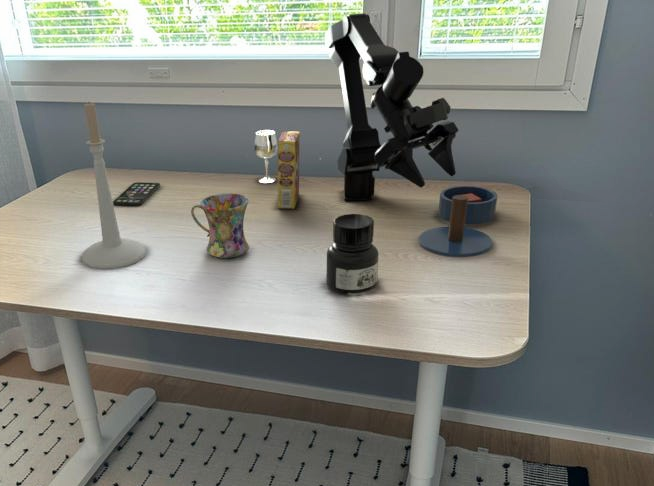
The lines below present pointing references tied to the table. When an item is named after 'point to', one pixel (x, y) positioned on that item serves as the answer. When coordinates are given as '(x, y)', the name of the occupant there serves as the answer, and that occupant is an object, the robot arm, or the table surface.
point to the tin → (469, 204)
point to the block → (472, 198)
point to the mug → (224, 224)
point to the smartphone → (136, 193)
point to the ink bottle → (352, 255)
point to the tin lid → (456, 234)
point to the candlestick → (107, 211)
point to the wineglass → (266, 150)
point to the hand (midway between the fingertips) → (438, 180)
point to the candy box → (288, 169)
